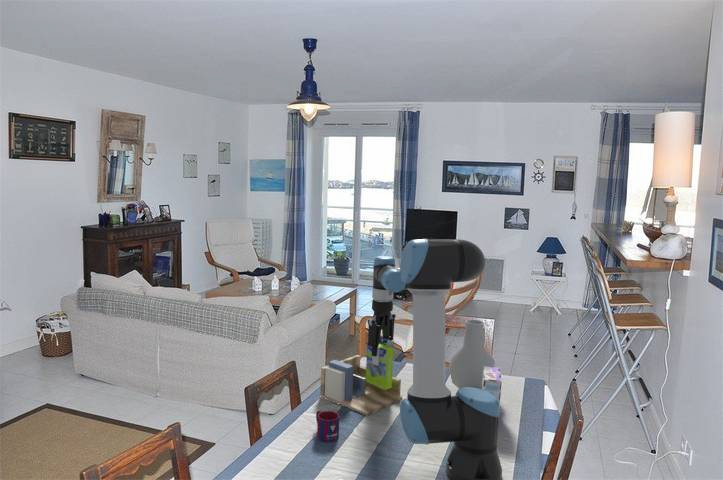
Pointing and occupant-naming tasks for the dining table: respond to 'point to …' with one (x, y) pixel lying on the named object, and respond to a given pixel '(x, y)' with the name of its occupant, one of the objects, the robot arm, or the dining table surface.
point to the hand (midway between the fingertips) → (380, 362)
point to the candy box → (492, 381)
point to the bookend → (358, 386)
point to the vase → (470, 357)
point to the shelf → (366, 391)
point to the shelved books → (339, 381)
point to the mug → (327, 425)
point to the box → (381, 365)
